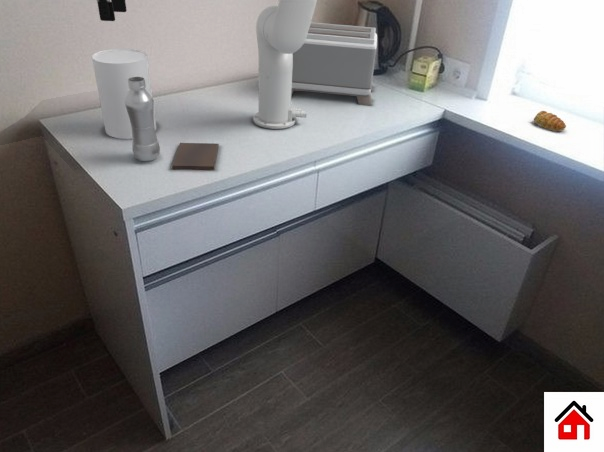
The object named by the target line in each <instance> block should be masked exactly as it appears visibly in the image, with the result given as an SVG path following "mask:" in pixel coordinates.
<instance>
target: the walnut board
mask: <svg viewBox="0 0 604 452" xmlns="http://www.w3.org/2000/svg"><path fill="white" fill-rule="evenodd" d="M219 148H220V147H219V143H213V142H212V143H210V142H207V143H206V142H202V143H201V142H180V143H179V145H178V147H177V150H176V154H175V157H174V159H173V162H172V165H171V167H172V170H188V171H189V170H191V171H192V170H193V171H215V167H216V162H217V158H218V153H219Z"/></svg>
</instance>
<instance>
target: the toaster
mask: <svg viewBox="0 0 604 452" xmlns="http://www.w3.org/2000/svg"><path fill="white" fill-rule="evenodd" d="M376 30H377V29H376V27H369V26H359V25H347V24H333V23H323V22H312V21H311V24H310V27H309V31H308V34H307V37H306V40H305V42H304V44H303V45H302V47H301V48H300V49H299V50H298V51H296V52H294V53H293V70H292V93H291V96H292V95H293V93H294V91H299V92H309V93H310V92H311V93H321V94H331V95H339V96H341V95H342V96H349V97H350V96H352V97H356V100H357V103H358V105H363V106H364V105H365V106H372V100H373V99H372V95H371V92H373V80H374V71H375V65H376V56H377V48H378V47H377V45H378V34H377V33H376Z"/></svg>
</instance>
